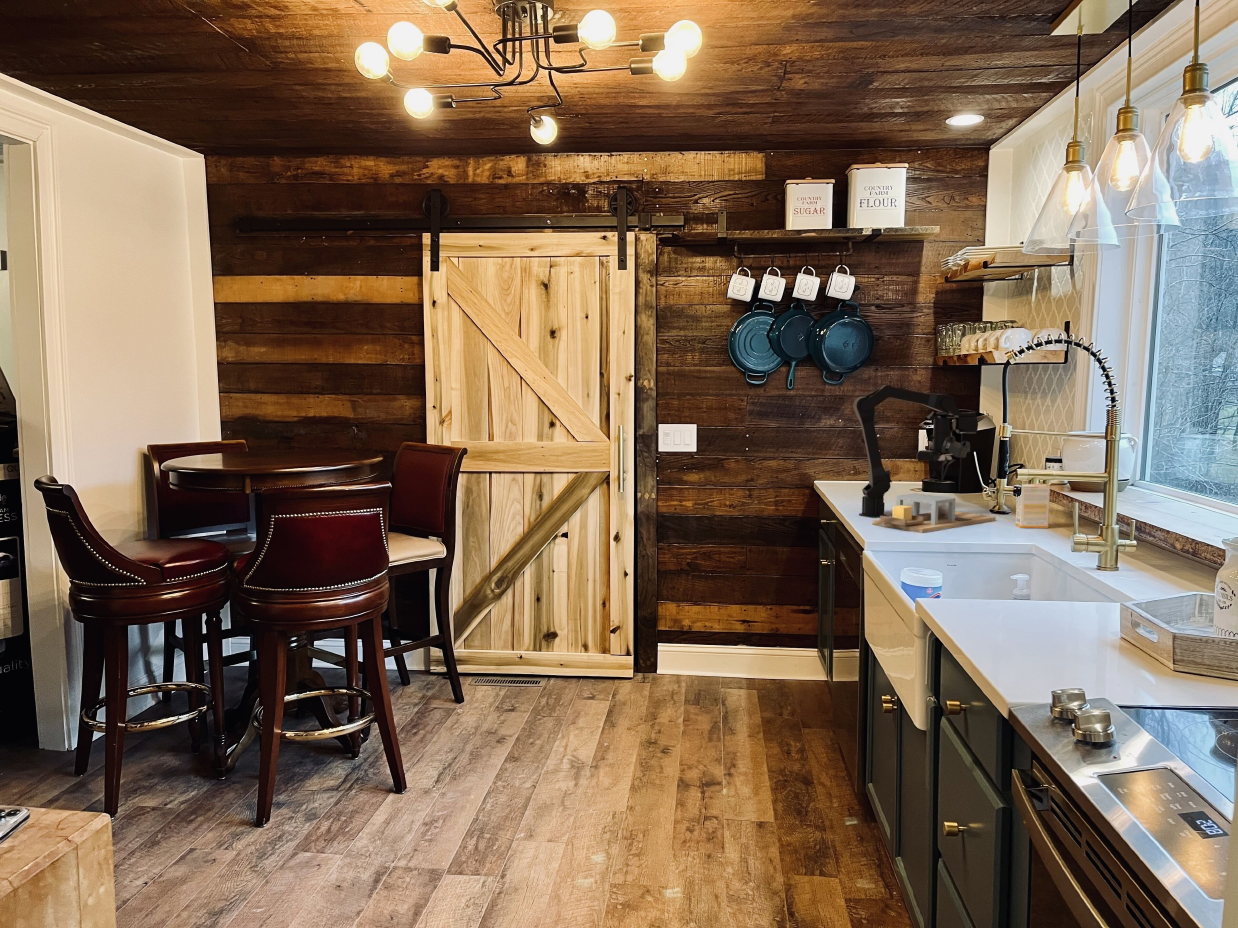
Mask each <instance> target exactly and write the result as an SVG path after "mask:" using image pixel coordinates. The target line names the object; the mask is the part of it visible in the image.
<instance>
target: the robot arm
mask: <svg viewBox="0 0 1238 928" xmlns="http://www.w3.org/2000/svg"><path fill="white" fill-rule="evenodd" d="M889 398H890V399H895V400H899V401H905V402H908V403H914V404H919V405H922V406H924V407H928V408H929V409H932V410H934V411H931V413H930V414H929V415H927V417H926V418H927V419H928V420H929V419H930V420H933V431H932V432H933V433H932V435H930V436H929V439H930V440H932V447H930V448H929V450H928V449H925V450H922V449H921V450H919V451H918V452H916V460H923V461H927V462H929V464H930V466H931V467H932V470H933V472H934V474H935V476H936V478H937V481H939V482H942V481H944V478H945V475H946V473H947V470H948V468H949V466H950V465H951V464H952V463H954V462H955V461H956V459H953V458H952V457H954V458H955V457H956V458H958V459H959V458H960V459H965V458H967V453H970V452H971V443H970V442H969V441H967V440H966V441H965V440H964V441H962V442H958V441H956V437H955V436H954V435H953V431H955V432H956V433H957V434H976V433H977V432H978V428H979V422H978V417H977V412H975V411H974V412H973V411H969V412H961V411H960V410H959V408H958V406H956V402H955V398H954V396H952V395H950V394H946V393H924V392H920V391H915V390H910V389H905V388H900V387H895V386H892V385H888V384H883V385H882V386H880V387H879V388H878V389H876V390H875V391H873V392H871V393H869V394H867V395H866V396H859V397H857V398H855V400H854V402H853V403H852V404H853V405H852V406H853V411H854V413H855V415H856V418H857V419H858V421H859V424H860V426H861V431H862V436H863V441H864V444H865V450H866V456H867V460H868V465H869V469H868V483H867V484H866V485H865V486H863V488H862V489H861V491H862V494H863V495H862V497H861V498H862V499H861V500H862V501H861V503H862V504H861V512H860V513H858V515H859V516H863V517H869V518H880V516H887V513H885V502H884V500H885V497H884V496H885V495H886V493H888V492H889V491H890V489H891V483H893V481H892V479H891V470H890V469H888V468H885V467H884V465H883V461H882V457H881V452H880V447H879V442H878V437H877V433H876V428H875V415H876V411H875V409H876V408H875V407H877V406H878V405H880V404H882V403H883V402H884V401H886V400H888V399H889ZM936 411H937V412H941V413H937V412H936ZM947 415H950V416H947Z"/></svg>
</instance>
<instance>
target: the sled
mask: <svg viewBox="0 0 1238 928" xmlns="http://www.w3.org/2000/svg"><path fill="white" fill-rule="evenodd" d="M940 496H941V497H944V496H942V495H940ZM948 497H949V496H948ZM949 498H952V497H951V496H950V497H949ZM948 504H949V502H948V503H941V504H938V518H939V517H948ZM926 519H931V515H924V516H914V515H913V514H912V520H908V521H907V520H906V519H900V518H893V517H892V516H887V515H886V516H880V517H879V520H880V522H885V523H891V524H897V525H903V526H907V525H913V524H920V523H924V520H926Z"/></svg>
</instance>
